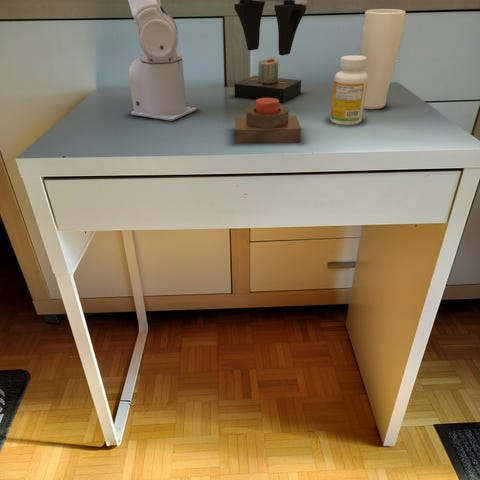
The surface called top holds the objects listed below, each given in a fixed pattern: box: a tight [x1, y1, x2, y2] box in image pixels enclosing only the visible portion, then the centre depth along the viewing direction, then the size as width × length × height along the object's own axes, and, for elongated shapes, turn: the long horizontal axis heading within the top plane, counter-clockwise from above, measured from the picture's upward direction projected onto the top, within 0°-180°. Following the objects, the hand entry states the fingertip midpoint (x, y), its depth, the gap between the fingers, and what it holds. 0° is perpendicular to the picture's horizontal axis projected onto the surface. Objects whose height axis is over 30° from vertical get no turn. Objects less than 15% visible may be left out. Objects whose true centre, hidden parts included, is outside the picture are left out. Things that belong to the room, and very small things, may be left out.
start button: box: [255, 98, 280, 114], centre depth 70 cm, size 4×4×2 cm
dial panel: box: [234, 75, 302, 104], centre depth 93 cm, size 11×8×3 cm
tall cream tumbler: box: [359, 8, 406, 110], centre depth 81 cm, size 7×7×15 cm
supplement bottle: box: [330, 54, 368, 126], centre depth 76 cm, size 5×5×10 cm
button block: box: [234, 104, 302, 145], centre depth 72 cm, size 10×7×4 cm
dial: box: [257, 57, 280, 84], centre depth 91 cm, size 4×4×4 cm
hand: (268, 52), depth 80 cm, fingers open, 7 cm apart
